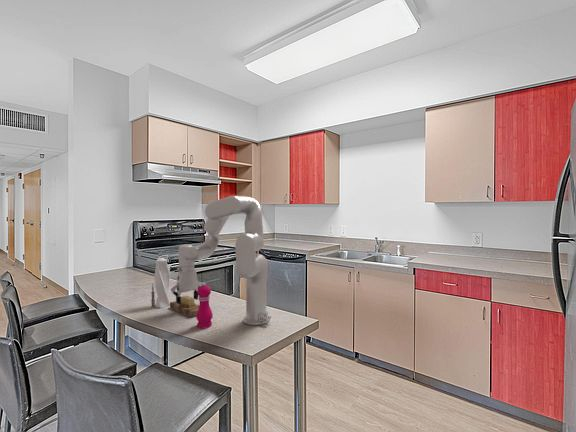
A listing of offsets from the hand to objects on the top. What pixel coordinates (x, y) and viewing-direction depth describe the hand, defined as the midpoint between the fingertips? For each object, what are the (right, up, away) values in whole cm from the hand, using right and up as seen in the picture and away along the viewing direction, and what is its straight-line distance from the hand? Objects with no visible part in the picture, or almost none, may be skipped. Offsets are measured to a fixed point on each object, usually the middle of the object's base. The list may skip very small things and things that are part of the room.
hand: (187, 301), depth 160 cm
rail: (0, -5, 0) cm, 5 cm away
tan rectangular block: (0, -5, 0) cm, 5 cm away
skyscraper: (-17, -5, +9) cm, 20 cm away
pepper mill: (+14, -6, -20) cm, 25 cm away
